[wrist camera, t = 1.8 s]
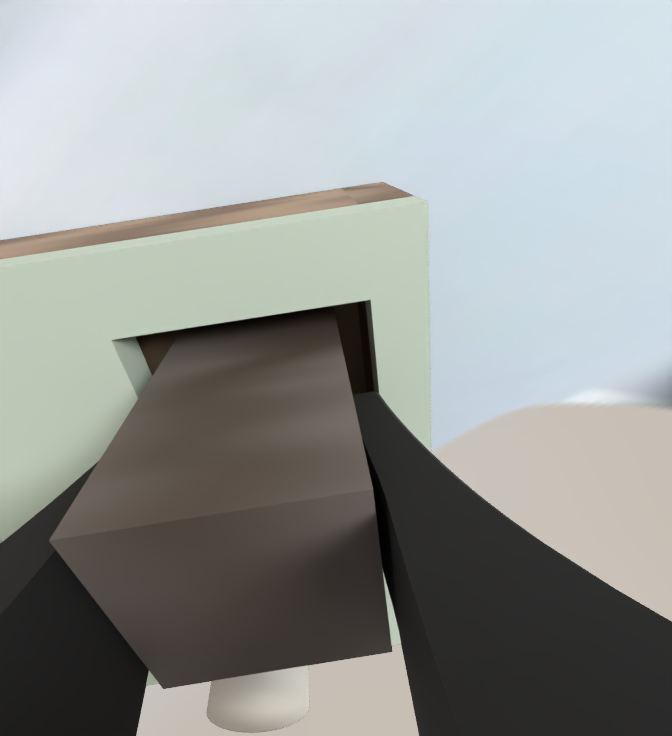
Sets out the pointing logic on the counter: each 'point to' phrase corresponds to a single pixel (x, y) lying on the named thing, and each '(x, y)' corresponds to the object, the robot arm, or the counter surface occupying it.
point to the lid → (186, 310)
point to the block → (236, 508)
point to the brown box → (158, 344)
